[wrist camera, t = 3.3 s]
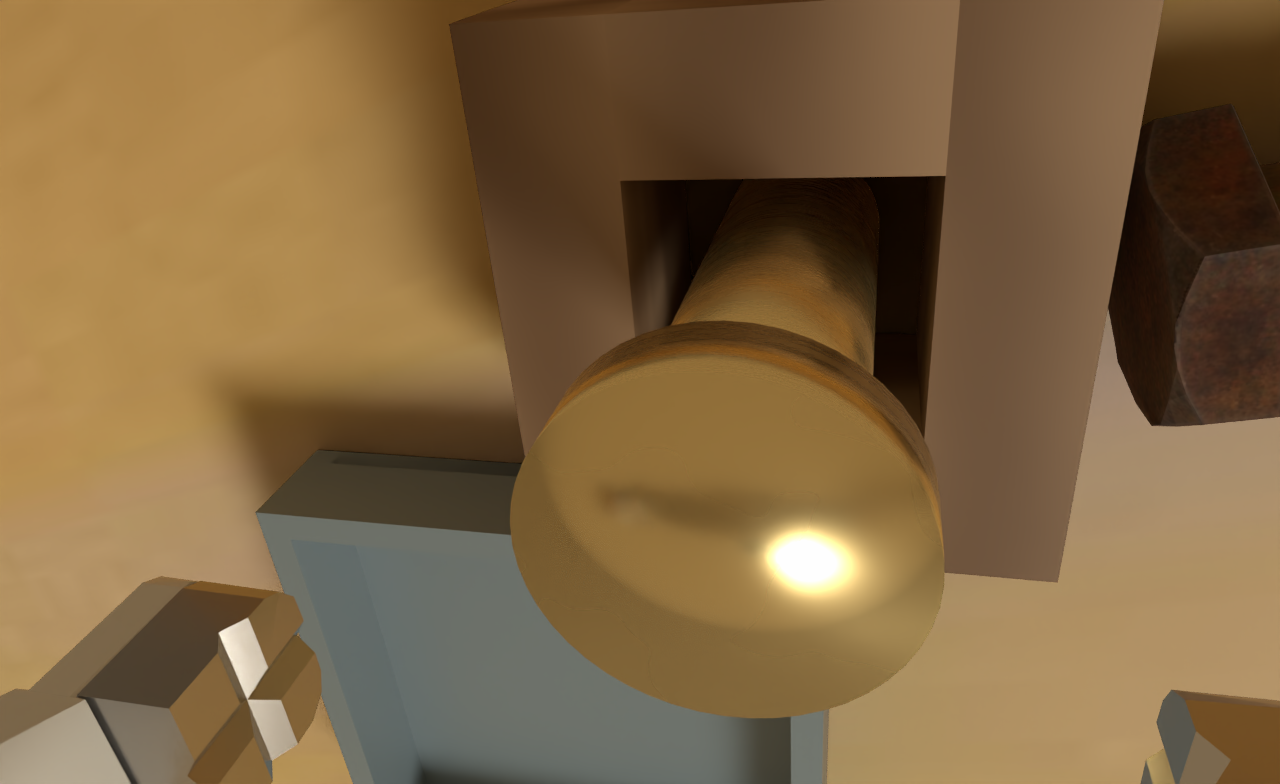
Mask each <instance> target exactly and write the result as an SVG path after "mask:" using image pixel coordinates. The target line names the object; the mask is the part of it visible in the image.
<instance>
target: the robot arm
mask: <svg viewBox="0 0 1280 784" xmlns="http://www.w3.org/2000/svg"><path fill="white" fill-rule="evenodd" d="M303 622H304V620H303V617H302V615H301V613H300V610H299V608H298V605H297V603H296V601H295V598H294V596H290V595H287V594H284V593H281V592H276V591H269V590H262V589H255V588H248V587H241V586H233V585H226V584H219V583H212V582H205V581H199V582H198V581H191V580H184V579H177V578H170V577H163V576H161V577H158V578H155V579H152V580H149V581H147V582H144V583H142V584H141V585H140V586H139V587H138V588H137V589H136V590H135V591H133V592H132V593H131V594H130V595H129V596H128V597H127V598H126V599H125V600H124V601H123V602H122V603H121V604H120V605H119V606H118V607H116V608H115V609H114V610H113V611H112V612H111V613H110V614H109V615H108V616H107V617H106V618H105V619H104V620H103V621H102V622H101V623H100V624H98V625H97V626H96V627H95V628H94V629H93V630H92V631H91V632H90V633H89V634H88V635H87V636H86V637H85V638H84V639H83V640H81V641H80V642H79V643H78V644H77V645H76V646H75V647H74V648H73V649H72V650H71V651H70V652H69V653H68V654H67V655H66V656H64V657H63V658H62V659H61V660H60V661H59V662H58V663H57V664H56V665H55V666H54V667H53V668H52V669H51V670H50V671H49V672H47V673H46V674H45V675H44V676H43V677H42V678H41V679H40V680H39V681H38V682H37V683H36V684H35V685H34V686H33V687H32V688H31V689H29V690H24V689H14V690H12V691H10V692H8V693H6V694H4V695H2V696H0V784H271V783H272V781H273V780H272V760H273V759H275V758H277V757H278V756H280V755H281V754H283V753H285V752H286V751H288V750H289V749H291V748H292V747H294V746H296V745H297V744H298V743H299V741H300V740H301V738H302V737H303V735H304V734H305V732H306V731H307V729H308V728H309V726H310V724H311V723H312V721H313V719H314V716H315V713H316V709H317V706H318V703H319V699H320V696H321V693H322V685H321V669H320V666H319V663H318V660H317V657H316V654H315V652H314V651H313V650H312V649H311V648H310V647H309V646H308V645H307V644H306V643H305V642H304V641H302V640H301V639H300V638H299V637H298V636H297V633H298V631H299V629H300V627H301V626H302V624H303ZM1157 725H1158V729H1159V732H1160V735H1161V739H1162V742H1163V745H1164V749H1162V750H1161V751H1159V752H1157V753H1156V754H1154V755H1153V756H1151V757H1149V758H1148V759H1146V763H1145V767H1144V771H1143V776H1142V780H1141V784H1280V701H1277V700H1267V699H1258V698H1248V697H1238V696H1228V695H1218V694H1208V693H1198V692H1189V691H1179V690H1171V691H1170V692H1169V694H1168V695H1167V696H1166V697H1165V699H1164V700H1163V702H1162V706H1161V709H1160V712H1159V716H1158V719H1157Z"/></svg>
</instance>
